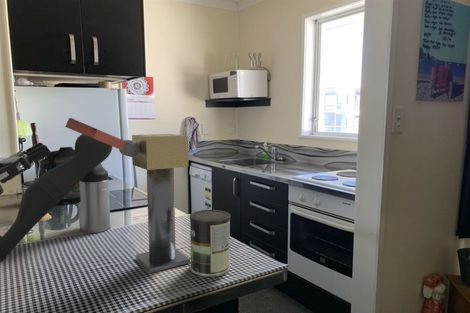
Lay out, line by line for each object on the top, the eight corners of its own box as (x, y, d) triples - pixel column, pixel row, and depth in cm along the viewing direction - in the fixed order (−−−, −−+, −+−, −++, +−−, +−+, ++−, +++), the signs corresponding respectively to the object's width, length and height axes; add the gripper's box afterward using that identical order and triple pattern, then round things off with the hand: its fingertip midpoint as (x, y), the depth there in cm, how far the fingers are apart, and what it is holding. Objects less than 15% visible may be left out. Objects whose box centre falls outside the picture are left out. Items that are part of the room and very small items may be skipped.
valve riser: (150, 273, 87) (146, 136, 84) (136, 258, 96) (131, 134, 93) (190, 263, 93) (188, 135, 90) (173, 250, 103) (170, 133, 99)
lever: (130, 157, 90) (137, 143, 90) (135, 159, 86) (142, 144, 87) (63, 130, 80) (70, 114, 81) (65, 130, 77) (73, 114, 78)
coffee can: (189, 277, 85) (188, 221, 83) (191, 260, 95) (190, 209, 94) (231, 276, 86) (231, 220, 84) (229, 259, 96) (228, 209, 94)
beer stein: (97, 199, 167) (95, 146, 165) (58, 207, 151) (55, 150, 148) (76, 195, 176) (74, 145, 173) (37, 202, 160) (34, 148, 157)
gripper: (-17, 198, 77) (52, 158, 84) (-21, 213, 65) (60, 164, 72) (-41, 170, 75) (33, 131, 81) (-50, 181, 63) (37, 133, 69)
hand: (46, 147), depth 77 cm, fingers open, 8 cm apart
